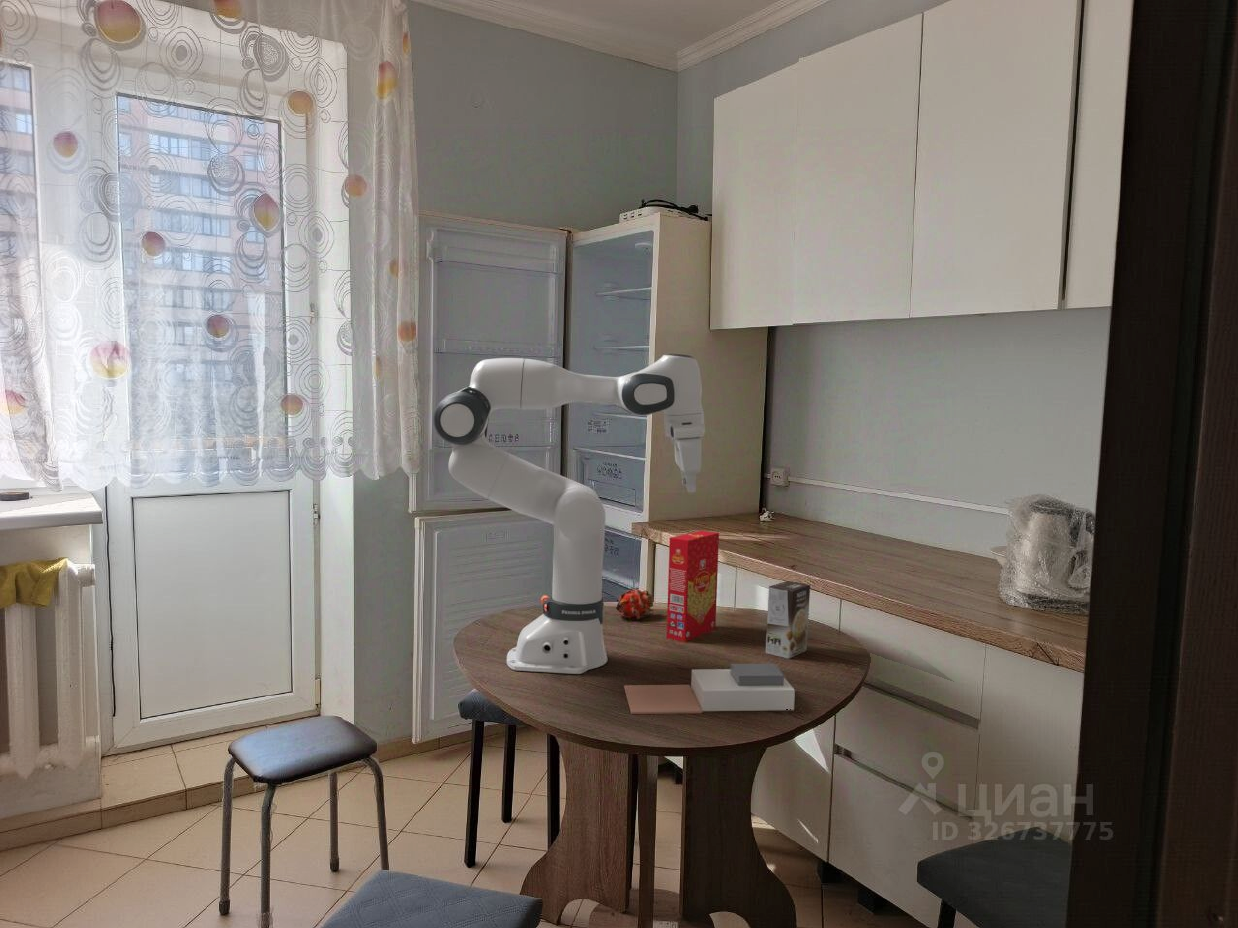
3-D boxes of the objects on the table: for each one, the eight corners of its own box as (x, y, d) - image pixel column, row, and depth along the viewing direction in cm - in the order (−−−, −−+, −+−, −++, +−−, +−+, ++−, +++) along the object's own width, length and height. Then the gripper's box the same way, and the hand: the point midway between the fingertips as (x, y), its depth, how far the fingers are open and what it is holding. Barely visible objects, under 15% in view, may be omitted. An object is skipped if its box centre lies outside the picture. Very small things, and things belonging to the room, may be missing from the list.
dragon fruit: (656, 620, 226) (619, 633, 220) (639, 597, 231) (603, 609, 225) (665, 600, 221) (627, 613, 214) (648, 577, 226) (611, 588, 219)
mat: (631, 714, 158) (631, 711, 158) (623, 687, 171) (624, 685, 171) (702, 713, 159) (702, 711, 159) (689, 686, 173) (689, 684, 173)
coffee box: (789, 659, 192) (792, 591, 190) (764, 653, 196) (767, 586, 194) (807, 650, 199) (810, 584, 197) (783, 644, 203) (786, 579, 201)
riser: (702, 711, 160) (703, 690, 160) (691, 688, 172) (691, 669, 171) (793, 709, 162) (794, 689, 161) (776, 687, 174) (777, 668, 173)
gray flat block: (738, 685, 163) (738, 675, 163) (730, 673, 170) (730, 663, 169) (783, 685, 164) (784, 675, 163) (773, 673, 171) (774, 663, 170)
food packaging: (684, 642, 203) (688, 540, 200) (666, 637, 206) (669, 537, 203) (715, 628, 214) (719, 532, 212) (697, 624, 218) (701, 530, 215)
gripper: (666, 425, 194) (670, 483, 196) (674, 431, 174) (679, 497, 176) (693, 422, 194) (697, 481, 196) (704, 429, 174) (709, 494, 176)
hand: (689, 488), depth 186 cm, fingers open, 8 cm apart
